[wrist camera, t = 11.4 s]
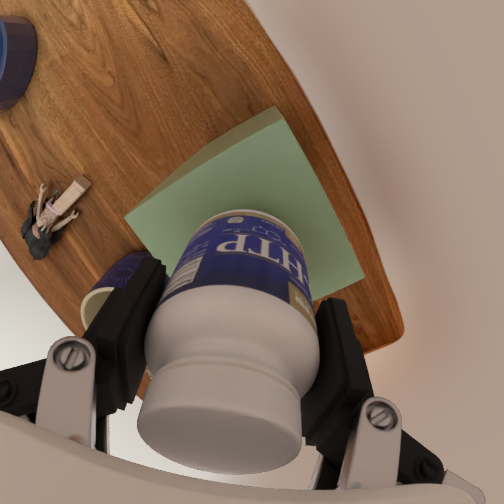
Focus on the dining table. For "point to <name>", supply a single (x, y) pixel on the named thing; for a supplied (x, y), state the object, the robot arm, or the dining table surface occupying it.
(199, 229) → the pill bottle
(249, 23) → the dining table surface
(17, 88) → the bowl
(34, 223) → the toy figure
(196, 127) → the dining table surface
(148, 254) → the planter
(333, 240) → the stand
